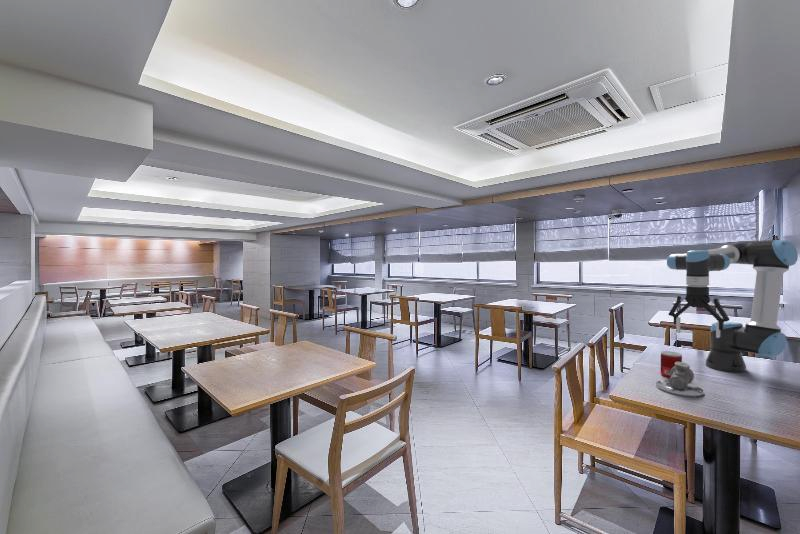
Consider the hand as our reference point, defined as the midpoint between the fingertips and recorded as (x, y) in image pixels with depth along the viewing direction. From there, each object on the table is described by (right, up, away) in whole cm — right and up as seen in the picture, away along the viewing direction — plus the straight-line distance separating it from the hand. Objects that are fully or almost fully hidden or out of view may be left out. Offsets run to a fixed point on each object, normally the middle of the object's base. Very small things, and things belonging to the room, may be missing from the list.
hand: (697, 334), depth 152 cm
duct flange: (-10, -23, -2) cm, 25 cm away
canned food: (0, -23, +15) cm, 27 cm away
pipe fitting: (-9, -22, -2) cm, 24 cm away
